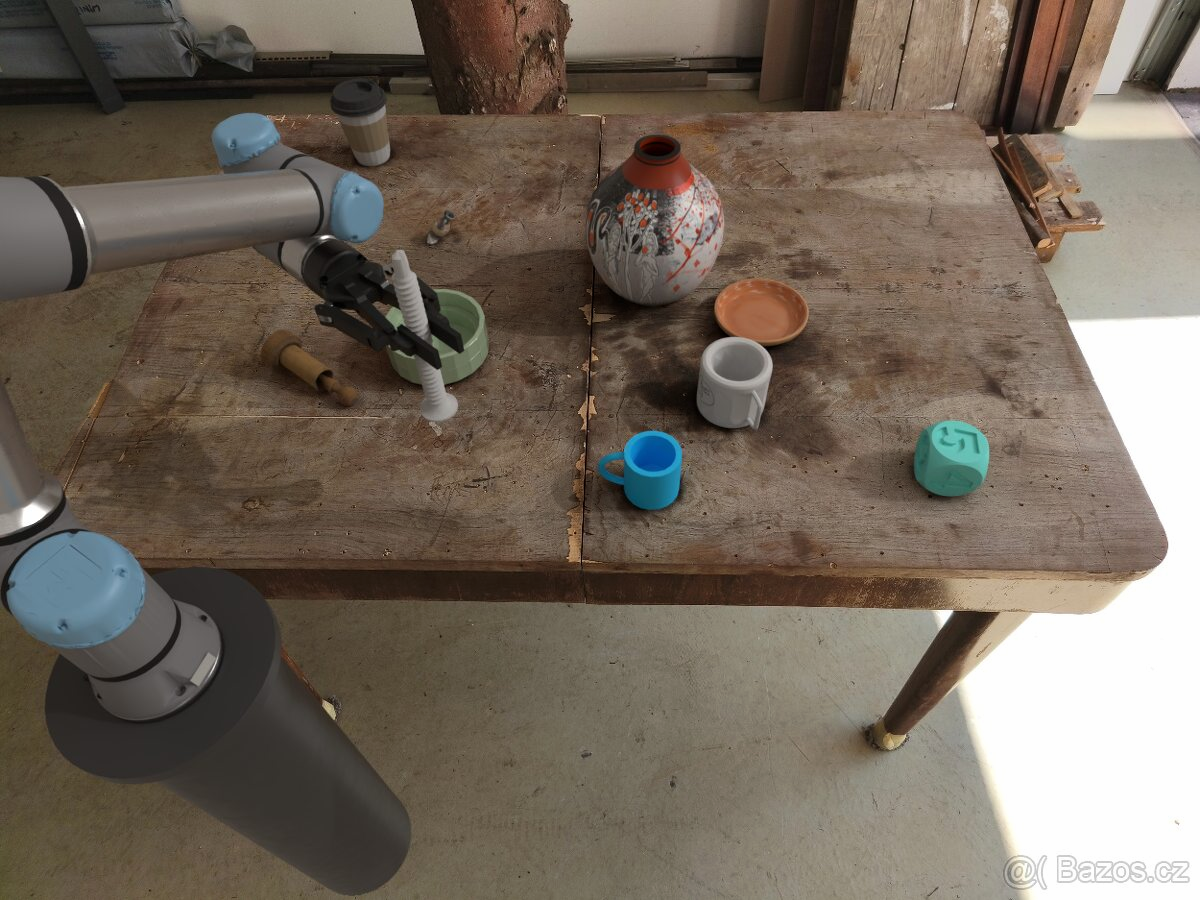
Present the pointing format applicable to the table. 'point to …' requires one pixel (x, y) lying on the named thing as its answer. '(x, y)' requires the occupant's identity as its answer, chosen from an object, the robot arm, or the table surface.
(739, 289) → the saucer
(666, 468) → the mug
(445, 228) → the vase
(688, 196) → the vase
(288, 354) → the mortar and pestle
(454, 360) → the bowl
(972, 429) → the decorative dice
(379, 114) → the coffee cup
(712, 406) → the mug
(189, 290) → the table surface
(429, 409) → the screw
